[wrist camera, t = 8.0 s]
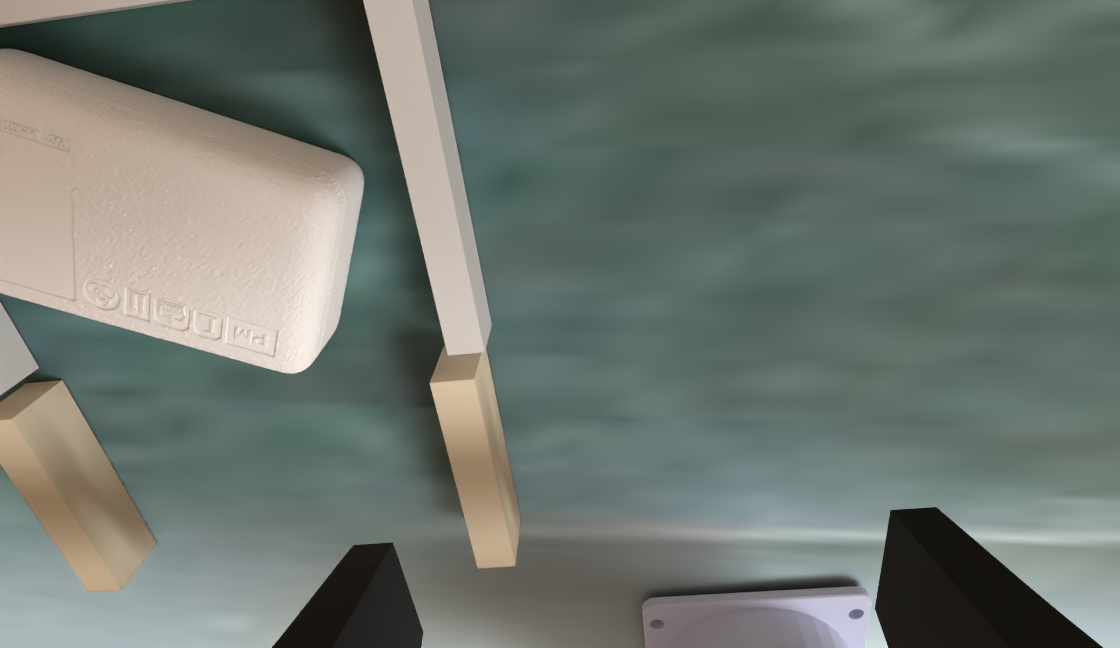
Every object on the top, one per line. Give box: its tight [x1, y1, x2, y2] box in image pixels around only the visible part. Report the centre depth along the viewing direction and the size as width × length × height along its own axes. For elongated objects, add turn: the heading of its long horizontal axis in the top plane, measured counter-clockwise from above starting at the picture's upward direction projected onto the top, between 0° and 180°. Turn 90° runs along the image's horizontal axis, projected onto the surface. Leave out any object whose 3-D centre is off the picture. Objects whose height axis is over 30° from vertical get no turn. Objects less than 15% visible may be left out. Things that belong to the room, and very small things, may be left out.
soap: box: [0, 49, 364, 374], centre depth 16 cm, size 9×6×3 cm, turn 72°
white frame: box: [0, 0, 492, 395], centre depth 16 cm, size 10×15×2 cm, turn 97°
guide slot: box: [0, 345, 521, 592], centre depth 20 cm, size 7×14×2 cm, turn 97°
